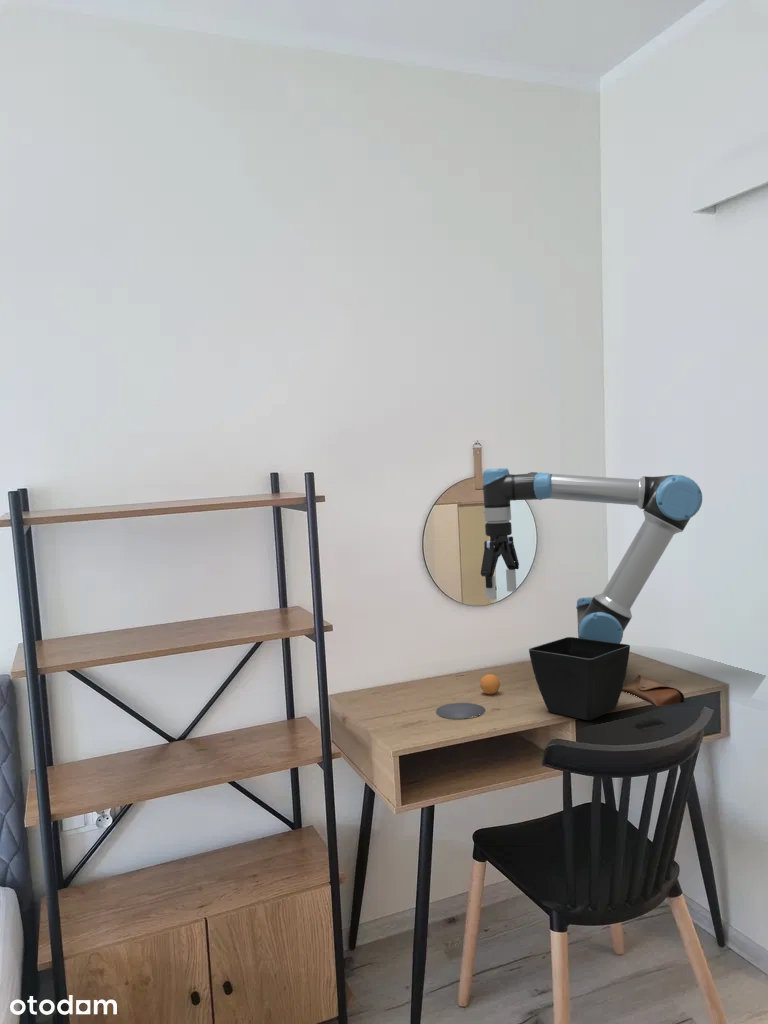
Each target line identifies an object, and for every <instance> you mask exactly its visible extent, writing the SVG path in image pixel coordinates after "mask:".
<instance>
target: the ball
mask: <svg viewBox="0 0 768 1024" xmlns="http://www.w3.org/2000/svg"><path fill="white" fill-rule="evenodd" d="M479 684H480V688H481V690H482V691H483V692H484V693H485V694H488V695H494V694H496V693H497V692H498V691H499V690H500V687H501V682H500V679H499V677H497V676H496V675H495V674H491V673H487V674H485V675H483V676H482V678H481V680H480V683H479Z"/></svg>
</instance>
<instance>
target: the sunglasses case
mask: <svg viewBox="0 0 768 1024" xmlns="http://www.w3.org/2000/svg"><path fill="white" fill-rule="evenodd" d="M637 675H638V676H636V677H634V679H632V680H631V681H630V682H628V683H627V684H625V685H623V687H622V691H624V692H623V693H626V692H627V693H626V694H628V693H630V694H629V695H631V694H632V695H631V696H633V695H635V696H634V697H636V696H637V697H636V698H638V697H639V699H640V698H641V700H643V701H646V702H647V703H650V704H652V705H654V706H656V707H663V706H668V705H669V706H670V705H674V704H680V703H684V702H685V695H684V694H683V692H682V691H681V690H680V689H678V688H676V687H672V686H667V685H665V684H663V683H660V682H658V681H655V680H653V679H650V678H647V677H644V676H643V675H641V674H637ZM622 691H621V692H622Z"/></svg>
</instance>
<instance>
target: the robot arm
mask: <svg viewBox="0 0 768 1024" xmlns="http://www.w3.org/2000/svg"><path fill="white" fill-rule="evenodd" d="M482 472H483V473H482V492H483V507H484V510H483V514H484V521H485V522H486V523H485V524H484V529H485V535H486V537H489V538H490V539H489V540H485V541H484V544H483V545H484V546H483V548H484V550H483V555H482V563H481V568H480V575H481V577H485V579H484V580H485V594H486V595H485V597H486V598H485V599H486V600H497V591H496V589H497V587H496V576H494V573H495V571H496V567H497V564H498V561H499V558H500V556H501V558H502V559H503V561H504V564H505V566H506V568H507V569H505V574H506V575H505V576H506V580H505V581H506V591H507V592H511V593H512V592H513V593H516V592H517V576H516V574H517V573H516V570H519V568H520V563H519V559H518V555H517V551H516V548H515V544H514V543H515V542H514V536H511V535H512V534H513V533H512V531H513V528H512V522H510V521H511V520H512V513H511V512H512V509H511V501H514V502H515V501H532V500H533V501H534V500H539V501H541V500H547V499H549V500H551V499H552V500H563V501H576V502H577V501H578V502H587V503H588V502H589V503H603V504H604V503H605V504H615V505H617V504H618V505H626V506H627V505H631V506H637V508H639V509H640V510H643V511H642V512H643V515H644V520H643V522H642V523H641V526H640V527H639V529H638V531H637V533H636V534H635V536H634V537H633V539H632V541H631V542H630V545H629V546H628V547H627V550H625V551H626V552H625V554H624V555H623V557H622V559H621V560H620V562H619V564H618V566H617V567H616V569H615V570H614V572H613V574H612V576H610V579H609V581H608V583H607V584H606V586H605V588H604V590H603V591H602V592H601V593H599V594H595V595H593V597H589V596H588V597H580V598H578V599H577V601H576V606H575V608H576V613H577V614H576V615H577V634H578V635H577V638H583V639H590V640H598V641H605V642H613V643H620V644H622V640H623V637H624V632H625V630H626V628H627V626H628V625H629V623H630V621H631V619H632V618H633V615H632V611H631V608H632V606H633V605H634V603H635V601H636V600H637V598H638V597H639V594H640V593H641V591H642V590H643V588H644V587H645V585H646V583H647V581H648V579H649V577H650V576H651V575H652V573H653V571H654V569H655V567H656V566H657V564H658V563H659V561H660V559H661V558H662V556H663V555H664V552H665V551H666V549H667V547H668V546H669V543H671V541H672V539H673V537H674V535H676V534H679V533H683V532H684V530H685V528H686V526H687V525H688V524H689V522H690V520H691V518H692V517H694V516H696V515H697V513H698V512H699V511H700V509H701V507H702V504H703V493H702V491H701V488H700V486H699V485H698V483H697V482H696V481H694V480H693V479H692V478H690V477H689V476H685V475H681V474H669V475H668V474H667V475H661V476H641V477H640V478H639V479H636V478H625V477H624V478H621V477H608V476H607V477H604V476H591V475H590V476H588V475H574V474H560V473H559V474H558V473H557V474H556V473H549V472H535V471H532V472H531V471H530V472H528V473H520V474H512V473H511V474H510V471H509V469H508V467H503V468H502V467H500V468H489V469H488V468H487V469H485V470H484V471H482Z"/></svg>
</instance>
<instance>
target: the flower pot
mask: <svg viewBox="0 0 768 1024" xmlns="http://www.w3.org/2000/svg"><path fill="white" fill-rule="evenodd" d="M630 649H631V645H630V644H627V643H613V642H605V641H598V640H590V639H583V638H578V637H575V636H574V637H572V636H566V637H564V638H559V639H557V640H553V641H549V642H547V643H546V642H545V643H544V644H540V645H537V646H534V647H530V648H528V653H529V659H530V663H531V666H532V671H533V673H534V678H535V680H536V683H537V684H536V685H537V687H538V689H539V692H540V694H541V697H542V699H543V700H542V701H543V702H544V705H545V707H546V708H547V711H548V712H549V713H554V714H557V715H561V716H562V715H563V716H566V717H571V718H576V719H580V720H585V721H592V720H594V719H596V718H599V717H602V716H603V715H605V714H608V713H611V712H613V711H614V710H616V708H617V706H618V704H619V699H620V697H621V694H622V688H623V687H624V682H625V679H626V675H627V671H628V670H627V669H628V663H629V656H630Z"/></svg>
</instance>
